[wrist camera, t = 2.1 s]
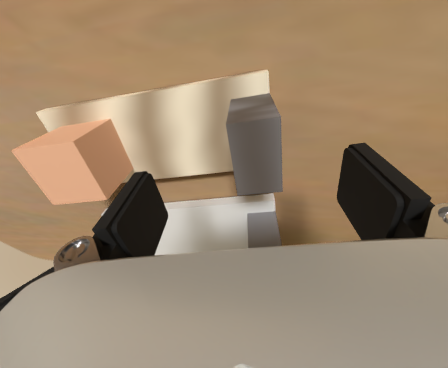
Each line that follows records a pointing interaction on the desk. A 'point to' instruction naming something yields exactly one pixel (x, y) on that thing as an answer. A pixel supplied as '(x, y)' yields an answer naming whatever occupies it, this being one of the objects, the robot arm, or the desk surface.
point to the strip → (220, 224)
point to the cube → (77, 162)
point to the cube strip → (193, 129)
